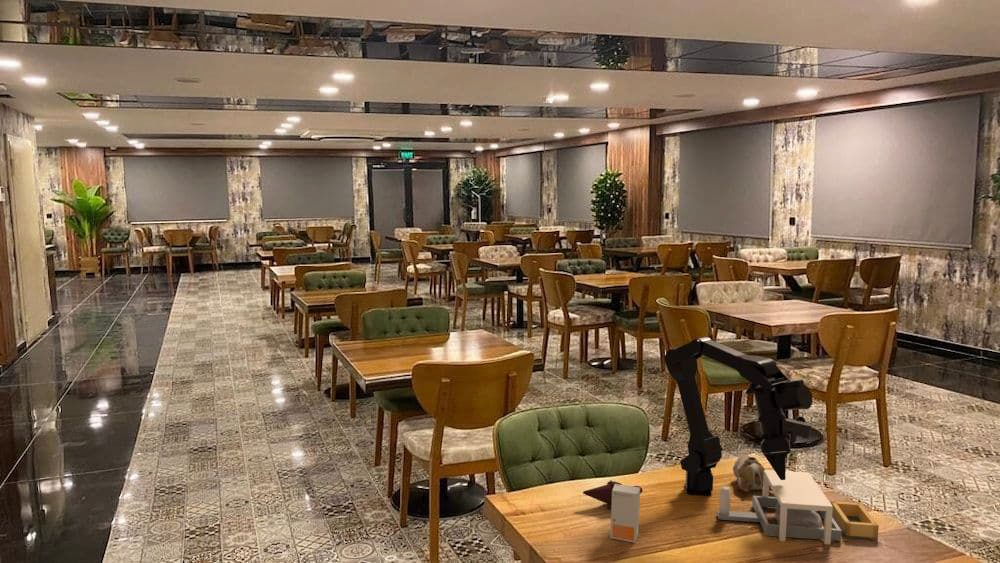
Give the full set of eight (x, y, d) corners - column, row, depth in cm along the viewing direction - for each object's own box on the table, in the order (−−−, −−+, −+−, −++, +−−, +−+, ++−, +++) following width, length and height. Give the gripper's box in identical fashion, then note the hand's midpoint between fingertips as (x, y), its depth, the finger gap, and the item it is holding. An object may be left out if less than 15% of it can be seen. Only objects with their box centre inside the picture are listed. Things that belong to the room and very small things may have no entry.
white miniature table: (779, 540, 164) (782, 503, 163) (762, 503, 184) (763, 469, 183) (830, 544, 162) (832, 506, 161) (806, 506, 182) (808, 472, 181)
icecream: (586, 490, 176) (646, 494, 177) (583, 471, 183) (640, 476, 184) (582, 513, 179) (641, 517, 180) (579, 494, 186) (636, 498, 187)
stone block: (781, 541, 168) (826, 537, 166) (778, 521, 168) (822, 517, 166) (773, 520, 180) (814, 516, 178) (769, 502, 180) (811, 497, 177)
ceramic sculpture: (762, 446, 201) (784, 470, 186) (760, 475, 202) (782, 500, 188) (724, 447, 200) (743, 470, 186) (723, 475, 202) (742, 501, 187)
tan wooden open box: (845, 538, 166) (846, 523, 165) (830, 515, 177) (831, 501, 177) (877, 540, 165) (878, 525, 164) (860, 517, 176) (860, 503, 176)
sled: (722, 532, 168) (724, 502, 167) (713, 502, 184) (714, 474, 183) (841, 540, 164) (843, 510, 163) (820, 509, 180) (822, 481, 179)
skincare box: (609, 539, 165) (611, 490, 163) (613, 531, 169) (614, 483, 167) (636, 543, 163) (637, 494, 161) (639, 535, 167) (640, 486, 165)
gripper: (806, 411, 161) (820, 481, 159) (804, 402, 178) (817, 464, 176) (754, 417, 165) (768, 485, 163) (758, 407, 182) (770, 469, 180)
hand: (783, 475), depth 170 cm, fingers open, 9 cm apart
